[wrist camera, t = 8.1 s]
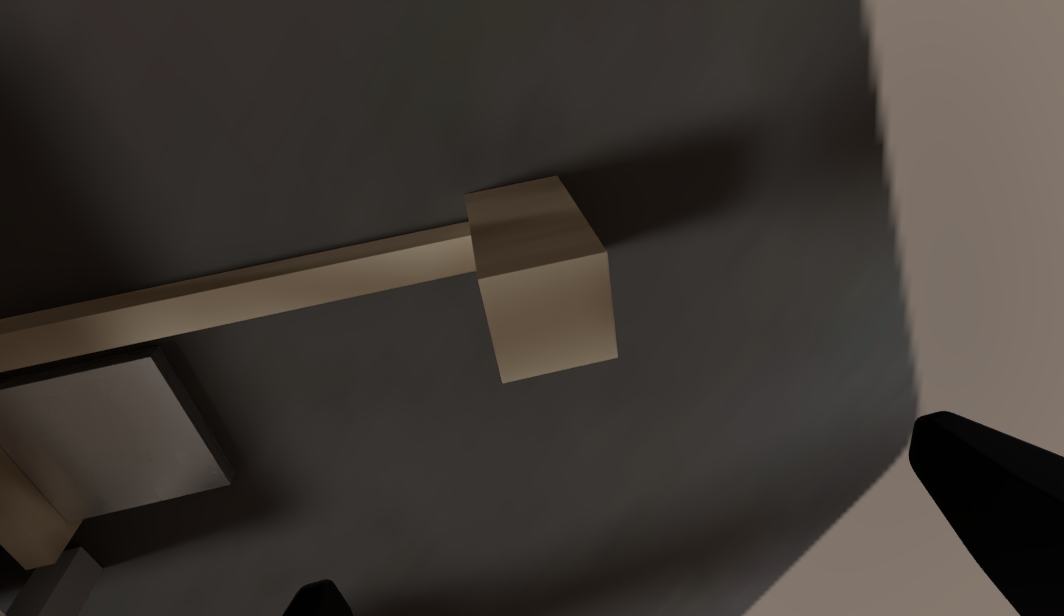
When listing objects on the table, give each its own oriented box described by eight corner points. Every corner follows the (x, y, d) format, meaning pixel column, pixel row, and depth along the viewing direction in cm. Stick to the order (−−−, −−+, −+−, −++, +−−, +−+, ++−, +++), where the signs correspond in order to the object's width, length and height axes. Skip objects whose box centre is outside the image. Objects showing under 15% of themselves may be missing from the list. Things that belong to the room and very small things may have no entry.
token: (239, 461, 22) (230, 484, 21) (84, 497, 22) (68, 522, 21) (165, 337, 19) (150, 357, 18) (-16, 376, 19) (-42, 399, 18)
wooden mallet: (589, 402, 23) (634, 524, 18) (57, 524, 22) (-57, 690, 17) (557, 175, 18) (607, 251, 13) (-127, 316, 17) (-368, 460, 12)
